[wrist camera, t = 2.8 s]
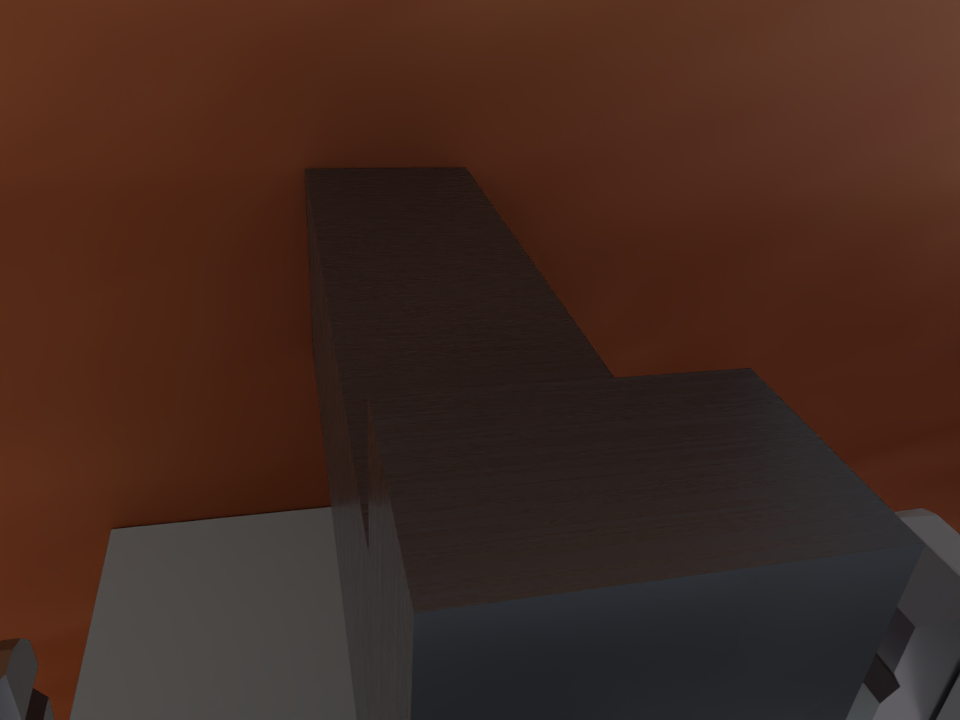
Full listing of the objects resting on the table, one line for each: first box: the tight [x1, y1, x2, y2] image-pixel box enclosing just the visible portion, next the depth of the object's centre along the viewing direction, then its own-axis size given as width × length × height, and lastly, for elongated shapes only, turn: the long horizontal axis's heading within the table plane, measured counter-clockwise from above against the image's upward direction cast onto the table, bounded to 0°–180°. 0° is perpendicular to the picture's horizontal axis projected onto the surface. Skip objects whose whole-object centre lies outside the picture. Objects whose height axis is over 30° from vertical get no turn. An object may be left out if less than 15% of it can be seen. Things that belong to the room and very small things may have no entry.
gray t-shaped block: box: [305, 167, 925, 720], centre depth 11 cm, size 3×7×12 cm, turn 176°
